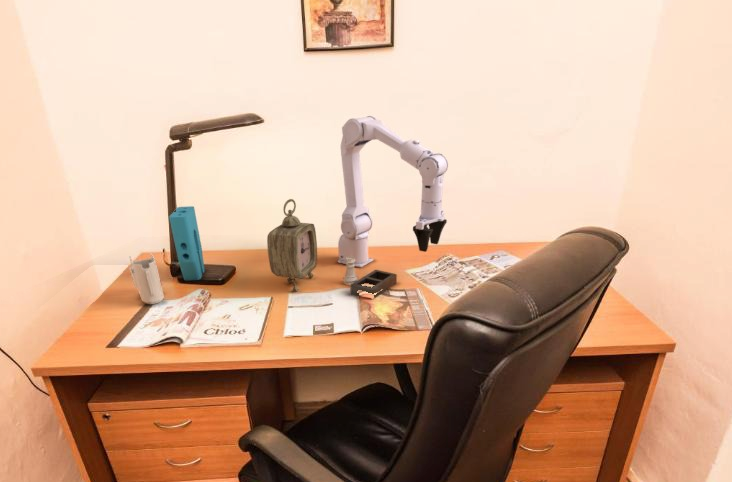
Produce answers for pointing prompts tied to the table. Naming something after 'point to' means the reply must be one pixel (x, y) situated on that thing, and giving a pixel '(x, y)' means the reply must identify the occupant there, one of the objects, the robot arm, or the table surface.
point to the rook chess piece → (350, 271)
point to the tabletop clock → (292, 248)
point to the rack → (374, 282)
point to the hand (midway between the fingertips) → (428, 247)
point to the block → (187, 242)
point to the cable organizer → (147, 280)
